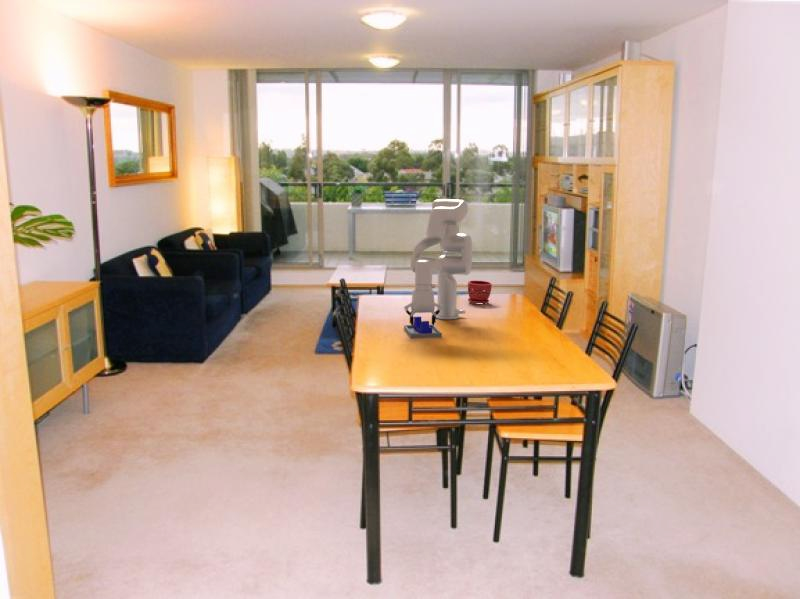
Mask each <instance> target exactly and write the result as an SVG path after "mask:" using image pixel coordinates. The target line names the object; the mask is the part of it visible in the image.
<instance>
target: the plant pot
mask: <svg viewBox="0 0 800 599" xmlns="http://www.w3.org/2000/svg"><path fill="white" fill-rule="evenodd" d="M492 285H493V284H492V282H489V281H486V280H469V281H468V282H467V293H468V297H469V298H467V301H468V302H469V303H470V302H471V303H470V304H472V303H487V304H488V303H489V302H490V300H489V297H490V295H491V293H492Z"/></svg>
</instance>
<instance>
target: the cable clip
mask: <svg viewBox="0 0 800 599" xmlns="http://www.w3.org/2000/svg"><path fill="white" fill-rule="evenodd" d="M413 317H414V330H416V331H417V332H419V333H432V328H431V327H429V325H430V321H429V320H422V316H419V315H417V316H413Z"/></svg>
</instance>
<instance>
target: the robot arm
mask: <svg viewBox="0 0 800 599" xmlns="http://www.w3.org/2000/svg"><path fill="white" fill-rule="evenodd" d="M431 208H432V209H431V211H430V213H429V218H428V224H427V229H426V233H425V236H424V237H423V238H422V239H421V240H419V241H418V243H417V244H416V245H415V246H414V248H413V251H412V254H411V259H410V270H411V272H412V273H415V279H414V289H413V291H412V294H411V302H410V303H408V304H406V305H405V306H403V309H404V311H405V312H406V314H407V315H409V324H410V325H414V317H415V316H414V315H415V314H416V313H417V314H418V313H419V314H420V313H421V314H423V313H424V314H426V313H428V314H429V313H431V314H432V315H431V325H434V326H435V324H436V323H437V322H436V321H437V319H439V320H456V319H459V318H460V314H461V315H462V314H463V315H465V314H466V309H458V308H457V292H458V290H457V288H458V284H457V280H456V278H455V277H454V276H455V275H456V276H468V275H469V274H471V271H472V264H473V241H472V237H471V236H470V235H469V234H467V233H458V226H459V225H460V224H461V223H462V222H463V220H464V219H465V218H466V216H467V215H468V211H469V205H468V203H467V201H466V200H464V199H447V198H439V199H438V198H437V199H435V200H433V201H432V205H431ZM435 245H439V248H440V251H442V252H444V253H455V254H442V255H439V256H438V257H424V256H423V257H421V255H422V253H423V252H424V251H425V250H427V249H428V248H431V247H433V246H435ZM457 254H459V255H457ZM460 254H461V255H460ZM433 275H434V276H435V275H437V297H436V298H437V302H435V295H434V290H433V289H435V288H436V284H433ZM410 308H411V309H410ZM435 308H436V310H435ZM409 309H410V310H411V311H409Z"/></svg>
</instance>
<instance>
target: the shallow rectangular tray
mask: <svg viewBox="0 0 800 599" xmlns="http://www.w3.org/2000/svg"><path fill="white" fill-rule="evenodd" d="M429 327H431V328H432V333H419V332H417V331H416V330H414V325H411V324H404V325H403V330H404V332H405V333H406V335H407V336H408V337H409V339H441V338H442V337H443V333H442V332H441V331H440V330H439V329H438V328H437V327H436V325H435V324H434V325H432V324H429Z"/></svg>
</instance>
